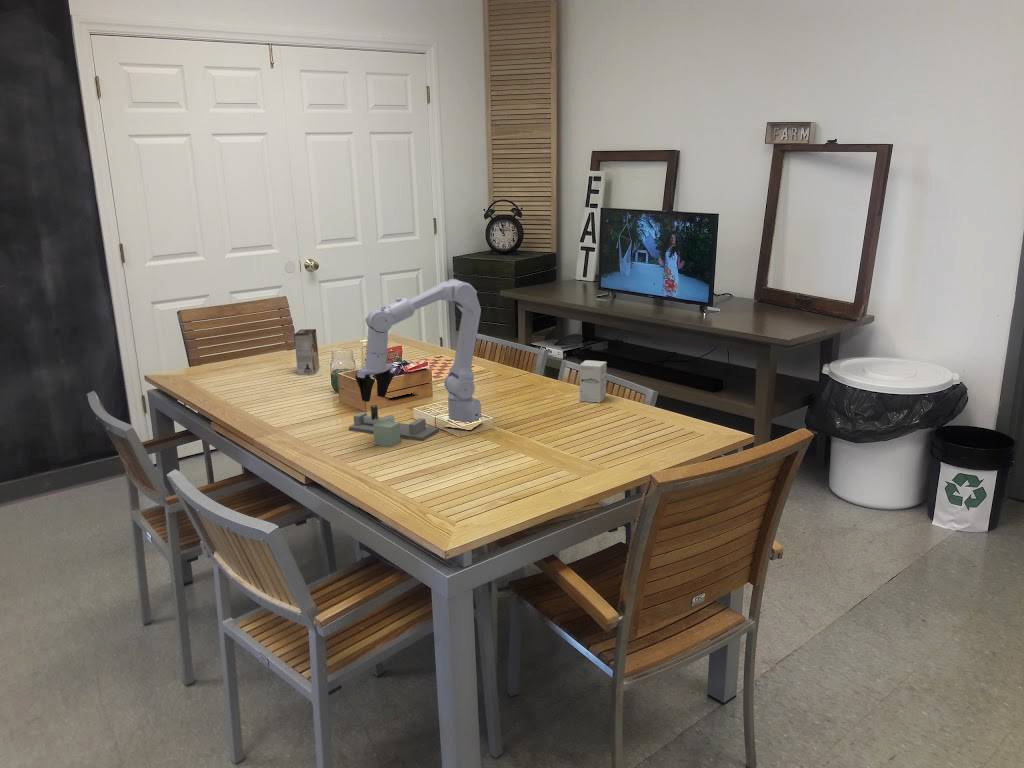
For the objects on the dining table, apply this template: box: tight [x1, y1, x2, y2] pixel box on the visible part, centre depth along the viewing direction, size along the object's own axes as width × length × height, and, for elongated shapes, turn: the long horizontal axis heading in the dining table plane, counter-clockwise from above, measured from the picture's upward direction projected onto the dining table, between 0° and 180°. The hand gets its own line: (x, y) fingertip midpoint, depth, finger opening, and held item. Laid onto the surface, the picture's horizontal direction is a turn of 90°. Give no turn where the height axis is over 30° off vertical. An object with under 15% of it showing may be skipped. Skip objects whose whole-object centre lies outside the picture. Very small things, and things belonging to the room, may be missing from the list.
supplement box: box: [578, 359, 608, 404], centre depth 270 cm, size 7×7×13 cm
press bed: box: [348, 411, 439, 442], centre depth 244 cm, size 26×9×4 cm, turn 65°
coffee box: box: [293, 328, 320, 376], centre depth 312 cm, size 9×6×16 cm
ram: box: [362, 404, 395, 424], centre depth 246 cm, size 9×6×6 cm, turn 65°
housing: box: [373, 420, 402, 448], centre depth 234 cm, size 6×4×6 cm
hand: (373, 398), depth 234 cm, fingers open, 7 cm apart
